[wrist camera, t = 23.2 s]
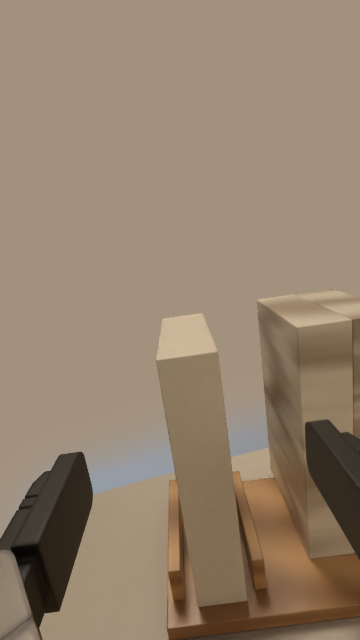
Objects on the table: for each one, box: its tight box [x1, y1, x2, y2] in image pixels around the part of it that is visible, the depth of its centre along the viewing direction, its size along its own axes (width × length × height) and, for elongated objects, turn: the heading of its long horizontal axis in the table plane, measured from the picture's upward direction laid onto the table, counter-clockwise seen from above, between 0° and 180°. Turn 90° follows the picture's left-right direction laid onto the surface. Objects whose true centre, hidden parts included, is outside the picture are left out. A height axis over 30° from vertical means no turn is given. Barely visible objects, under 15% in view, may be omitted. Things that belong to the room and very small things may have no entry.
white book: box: [156, 313, 247, 607], centre depth 22 cm, size 9×3×17 cm, turn 1°
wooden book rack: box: [167, 289, 360, 640], centre depth 23 cm, size 12×17×18 cm
